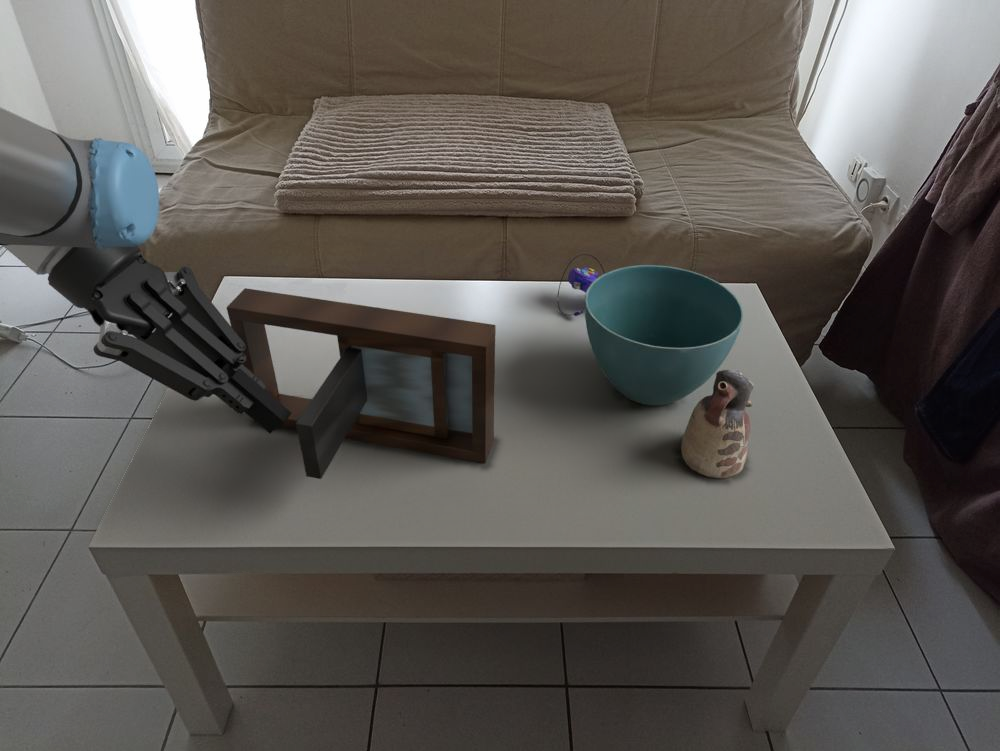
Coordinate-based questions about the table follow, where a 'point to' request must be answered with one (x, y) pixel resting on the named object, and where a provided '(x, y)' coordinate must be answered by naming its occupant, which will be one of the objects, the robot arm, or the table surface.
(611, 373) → the teal bowl
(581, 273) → the game controller
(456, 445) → the window frame
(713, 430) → the figurine
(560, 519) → the table surface
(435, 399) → the sliding pane
